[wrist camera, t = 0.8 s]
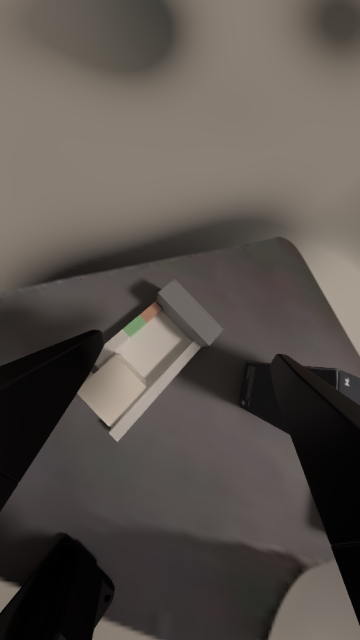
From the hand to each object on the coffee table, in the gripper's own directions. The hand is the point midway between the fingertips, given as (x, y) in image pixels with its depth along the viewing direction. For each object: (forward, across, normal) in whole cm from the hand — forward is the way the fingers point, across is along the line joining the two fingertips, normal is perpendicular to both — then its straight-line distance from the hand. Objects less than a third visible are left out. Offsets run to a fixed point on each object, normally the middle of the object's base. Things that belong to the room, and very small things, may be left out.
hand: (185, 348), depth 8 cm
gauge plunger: (+4, +8, +9) cm, 13 cm away
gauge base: (+7, +5, +8) cm, 12 cm away
